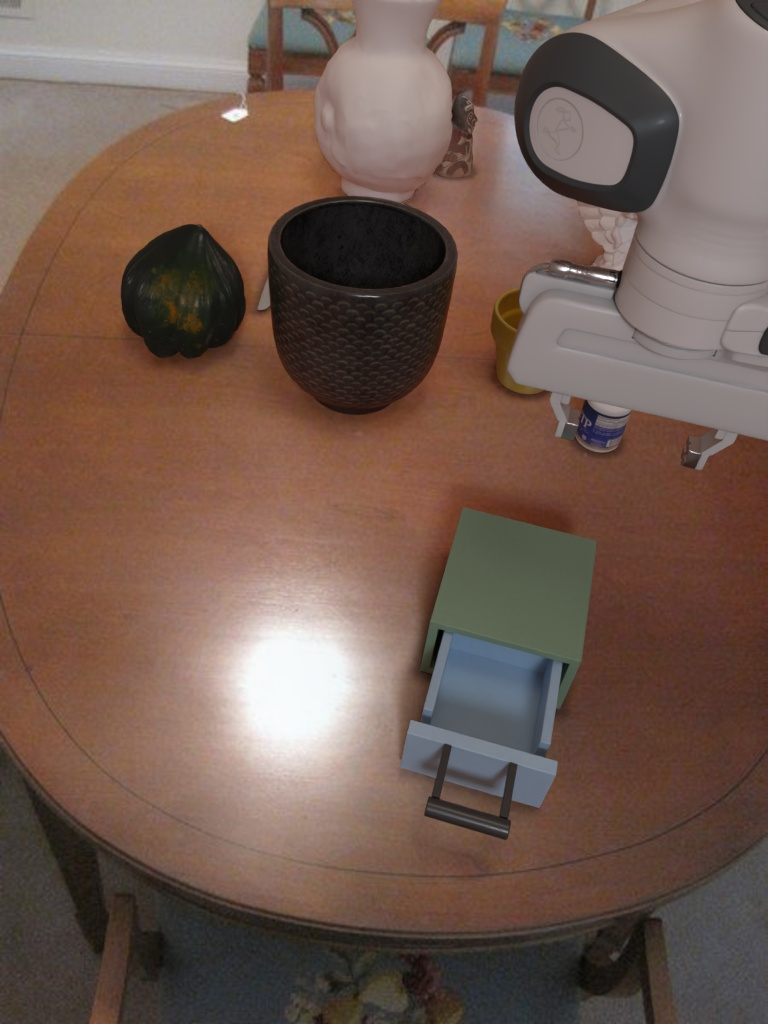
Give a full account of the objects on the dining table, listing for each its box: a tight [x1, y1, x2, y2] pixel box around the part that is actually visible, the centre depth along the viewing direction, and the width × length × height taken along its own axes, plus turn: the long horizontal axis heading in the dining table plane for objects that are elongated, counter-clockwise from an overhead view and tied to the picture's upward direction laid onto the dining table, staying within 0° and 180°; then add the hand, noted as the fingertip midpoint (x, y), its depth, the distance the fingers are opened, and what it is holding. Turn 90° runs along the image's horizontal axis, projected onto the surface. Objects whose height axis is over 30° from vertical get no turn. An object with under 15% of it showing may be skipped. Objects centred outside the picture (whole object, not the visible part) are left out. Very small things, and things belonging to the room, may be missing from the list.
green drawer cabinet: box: [419, 506, 598, 710], centre depth 77 cm, size 14×13×8 cm
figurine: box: [433, 92, 479, 179], centre depth 138 cm, size 7×7×12 cm
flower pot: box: [490, 287, 545, 395], centre depth 103 cm, size 10×10×10 cm
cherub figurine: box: [576, 201, 638, 271], centre depth 116 cm, size 13×12×20 cm
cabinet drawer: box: [399, 631, 563, 841], centre depth 68 cm, size 18×11×6 cm, turn 165°
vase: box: [313, 0, 453, 203], centre depth 124 cm, size 19×21×30 cm
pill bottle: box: [575, 399, 633, 454], centre depth 96 cm, size 5×5×9 cm
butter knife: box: [256, 278, 270, 311], centre depth 119 cm, size 1×24×3 cm
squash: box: [120, 223, 247, 360], centre depth 102 cm, size 14×15×15 cm
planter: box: [266, 195, 459, 416], centre depth 95 cm, size 20×20×19 cm
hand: (626, 448), depth 64 cm, fingers open, 8 cm apart
